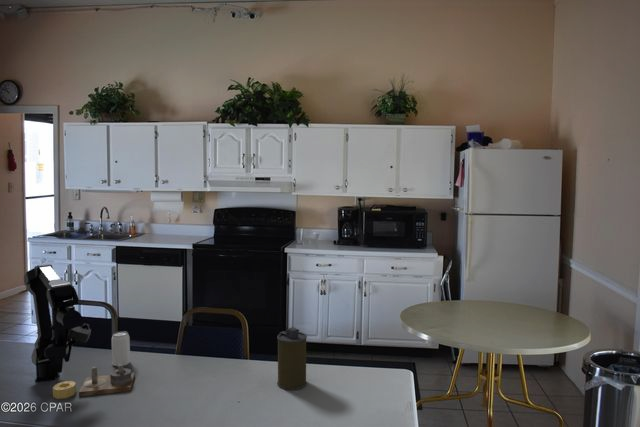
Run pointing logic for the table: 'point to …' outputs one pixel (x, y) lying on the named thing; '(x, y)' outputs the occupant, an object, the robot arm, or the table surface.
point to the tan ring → (64, 389)
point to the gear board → (108, 382)
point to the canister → (291, 359)
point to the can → (120, 348)
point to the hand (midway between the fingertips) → (63, 366)
